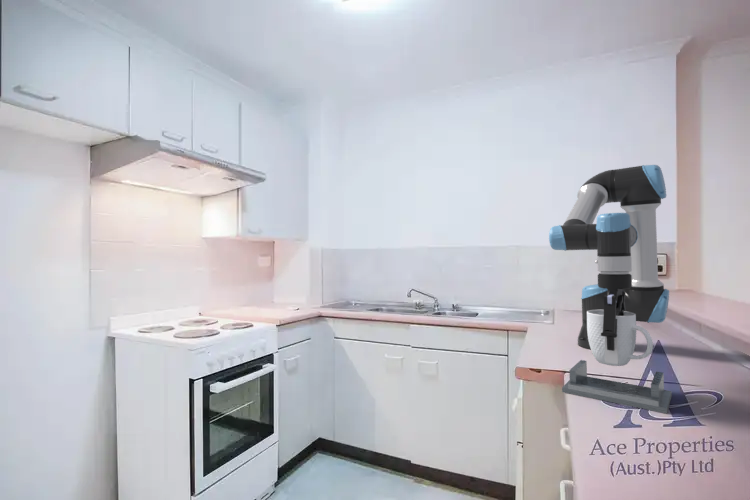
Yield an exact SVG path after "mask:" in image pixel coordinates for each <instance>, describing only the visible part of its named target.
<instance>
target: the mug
mask: <svg viewBox="0 0 750 500" xmlns="http://www.w3.org/2000/svg"><path fill="white" fill-rule="evenodd" d="M603 319H604V310H589V311H587V333H588V341H589V344H590V348H591V349H590V350H591V351H590V352H591V353H592V355H593V357H594V359H595V360H596V361H597V362H598V363H600V364H603V365H607V366H612V367H622V366H623V367H624V366H626V365H628V364H629V362H630V361H631V360H642V359H646V358H648V357H649V356H650V355H651V354H652V351H653V348H654V347H653V346H654V345H653V344H654V341H653V339H652V335H651V334H650V333H649V331H648V330H647V329H646V328H644V327H643V326H640V325H637V321H636V314H635V313H632V312H627V311H624V316H616V319H617V337H618V364H614V363H607V362H605V336H601V333H602V332H603ZM609 331H610V330H609ZM637 331H639V332H641V333H642V334H643V335H644V338H645V340H646V345H647V346H646V350H645V351H644V353H642V354H640V355H636V354H634V352H635V349H636V342H637Z"/></svg>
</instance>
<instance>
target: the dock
mask: <svg viewBox="0 0 750 500" xmlns="http://www.w3.org/2000/svg"><path fill="white" fill-rule="evenodd" d="M587 364H588V363H587V360H583V359H581V360H579V361H578V362H577V363H576V364H575V365H574V366H572V368H570V369H569V380H568V381H567V382H566V383H565V384H564V385H563V386H561V392H562V393H564V394H565V393H566V394H571V395H575V396H579V397H583V398H584V397H585V398H588V399H595V400H599V401H603V402H608V403H612V404H613V403H614V404H619V405H624V406H628V407H632V406H633V408H637V407H638V408H639V409H642V408H643V410H648V411H653V412H657V413H661V414H667V415H668V410H669V407H670V403H671V400H672V390H665V375H664V372H662V371H658V370H657V371H656V372H655V373H654V376H653V378H652V381H651V383H650V386H649V387H648V386H643V385H638V384H631V383H627V382H621V381H615V380H608V379H603V378H600V377H599V378H598V377H593V376H592V377H591V376H588V369H587V368H588V367H587V366H588V365H587Z"/></svg>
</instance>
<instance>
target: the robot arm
mask: <svg viewBox="0 0 750 500" xmlns="http://www.w3.org/2000/svg"><path fill="white" fill-rule="evenodd" d="M666 190H667V189H666V183H665V179H664V174H663V170H662V168H661V167H660V166H659V164H646V165H644V164H643V165H637V166H630V167H623V168H617V169H616V168H615V169H609V170H604V171H602V172H599V173H598V174H595V175H594V176H592V177H591V178H588V180H586V181H585V182H584V183H583V184H582V186H581V187H580V188H579V190H578V192H577V195H576V196H577V200H575V201H576V202H575V203H574V204H573V206H572V209H571V210H570V212H569V214H568V216H567V217H566V219H565V221H564V223H563V225H561V224H558V225H553V226H552V227H551V228H550V230H549V231H548V232H549V234H548V242H549V245H550V247H551V249H553V250H554V251H565V252H566V251H586V250H587V251H590V250H594V251H597V252H596V253H597V254H596V255H597V259H595V260H594V263H595V264H597V271H598V272H600V273H598V274H597V284H590V285H585V286H583V287H582V288H581V289H582V290H581V298H580V299H581V319H582V321H581V323H582V325H581V328H580V331H579V333H578V337H577V345H578V346H579V347H582V348H585V349H588V350H591V348H590V344H589V341H588V333H587V311H589V310H604V319H603V332H602V333H601V336H605V362H607V363H614V364H618V337H617V319H616V316H624V311H627V312H632V313H635V314H636V322H641V323H642V322H643V323H647V324H650V323H658V324H661V323H663V322H664V321H665V320H666V317H667V312H668V306H669V301H670V290H669V289H667V288H665V287H664V286H665V285H664V283H663V282H662V281H661V280H660V279H659V270H658V269H659V268H658V265H659V264H658V241H657V240H658V239H657V237H658V236H657V215H656V214H657V213H656V212H657V208H659V207H660V206H661V205H662V200H664V199H666V198H667V191H666ZM609 203H620V208H621V209H622V210H623V211H625V212H609V213H608V212H607V213H600V214H598V213H599V210H600V209H601V207H603V206H604V205H605V204H609ZM595 219H596V223H594V221H595ZM609 330H610V331H609Z"/></svg>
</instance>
